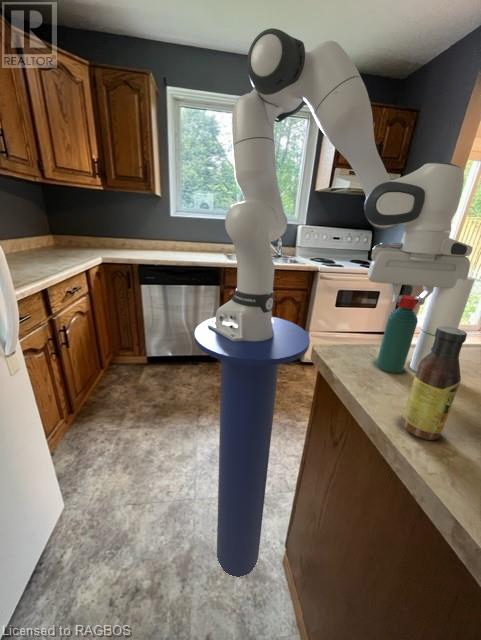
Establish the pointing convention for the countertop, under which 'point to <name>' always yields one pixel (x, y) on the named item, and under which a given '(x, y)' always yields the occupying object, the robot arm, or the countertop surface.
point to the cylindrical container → (441, 315)
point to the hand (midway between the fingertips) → (407, 303)
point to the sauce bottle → (435, 385)
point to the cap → (408, 302)
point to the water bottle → (397, 340)
